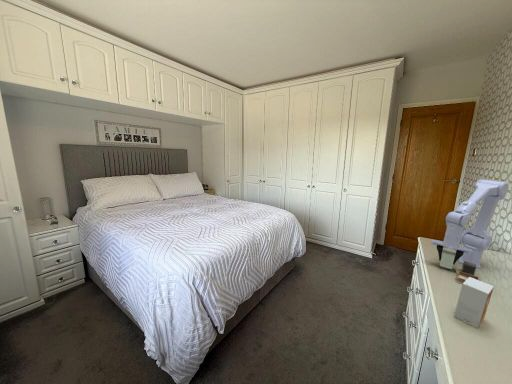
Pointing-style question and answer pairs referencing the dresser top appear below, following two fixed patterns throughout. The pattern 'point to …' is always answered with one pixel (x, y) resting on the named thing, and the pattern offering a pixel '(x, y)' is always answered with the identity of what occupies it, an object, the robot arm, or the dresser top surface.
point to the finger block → (447, 259)
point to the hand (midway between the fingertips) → (446, 262)
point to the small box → (473, 301)
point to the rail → (466, 272)
